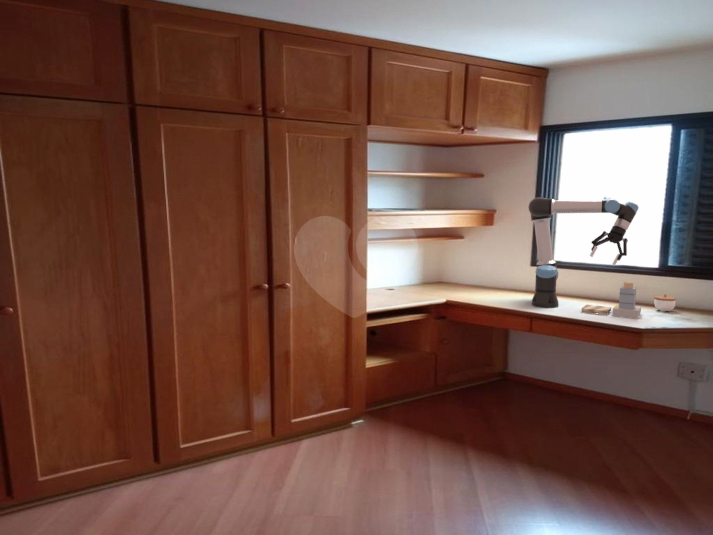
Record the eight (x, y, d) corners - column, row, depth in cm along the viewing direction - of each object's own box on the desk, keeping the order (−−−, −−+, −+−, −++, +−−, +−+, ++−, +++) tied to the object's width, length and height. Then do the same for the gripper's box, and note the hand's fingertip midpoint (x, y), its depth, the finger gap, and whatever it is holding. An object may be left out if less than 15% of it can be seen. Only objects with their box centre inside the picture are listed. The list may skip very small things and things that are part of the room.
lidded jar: (663, 313, 283) (664, 296, 282) (648, 309, 293) (649, 293, 292) (679, 312, 285) (681, 295, 284) (664, 308, 295) (666, 292, 294)
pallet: (581, 312, 285) (581, 308, 285) (586, 308, 296) (586, 304, 295) (607, 315, 278) (607, 311, 277) (611, 311, 288) (611, 307, 288)
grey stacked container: (618, 307, 278) (619, 288, 276) (620, 305, 283) (621, 286, 282) (633, 309, 273) (634, 289, 272) (635, 307, 279) (636, 287, 278)
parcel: (624, 288, 276) (624, 282, 276) (623, 286, 280) (623, 281, 279) (632, 288, 275) (633, 283, 274) (631, 287, 278) (632, 281, 278)
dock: (612, 315, 277) (612, 308, 276) (616, 311, 288) (616, 304, 287) (637, 318, 270) (637, 310, 269) (640, 313, 281) (641, 306, 281)
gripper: (643, 237, 288) (624, 270, 289) (600, 223, 305) (583, 254, 306) (640, 232, 283) (621, 266, 284) (597, 219, 300) (580, 250, 301)
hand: (602, 260), depth 295 cm, fingers open, 13 cm apart
